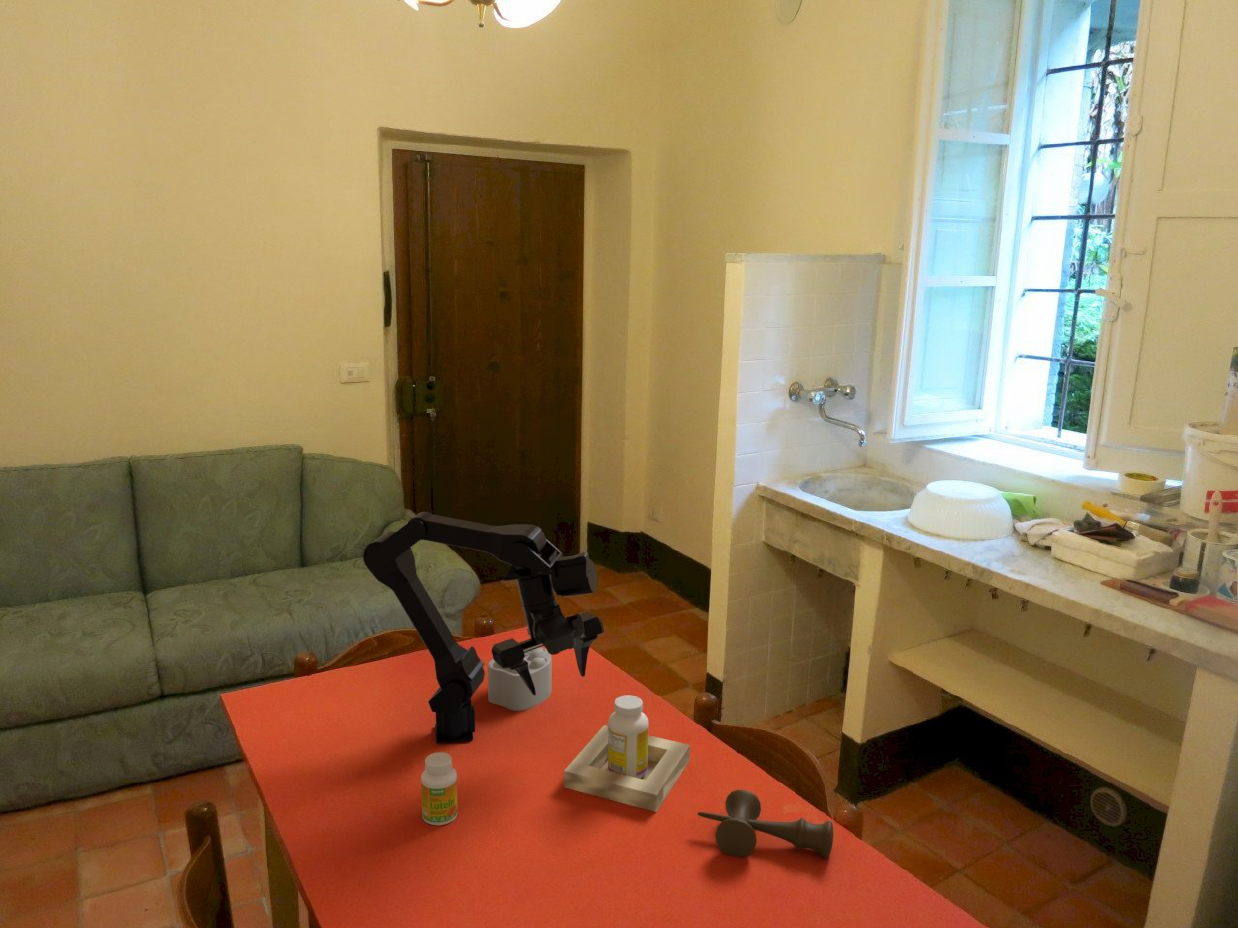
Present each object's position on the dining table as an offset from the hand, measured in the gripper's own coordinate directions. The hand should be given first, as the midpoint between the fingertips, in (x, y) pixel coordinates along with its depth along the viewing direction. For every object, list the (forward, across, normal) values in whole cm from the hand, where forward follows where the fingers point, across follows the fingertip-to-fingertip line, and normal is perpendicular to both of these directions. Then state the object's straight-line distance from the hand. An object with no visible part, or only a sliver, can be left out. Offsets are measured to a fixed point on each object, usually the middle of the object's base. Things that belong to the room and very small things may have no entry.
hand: (558, 685), depth 159 cm
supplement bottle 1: (+9, -26, -9) cm, 29 cm away
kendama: (+21, +15, -34) cm, 42 cm away
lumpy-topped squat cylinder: (+9, 0, +23) cm, 25 cm away
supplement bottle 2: (+15, +5, -10) cm, 18 cm away
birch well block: (+15, +5, -10) cm, 19 cm away
